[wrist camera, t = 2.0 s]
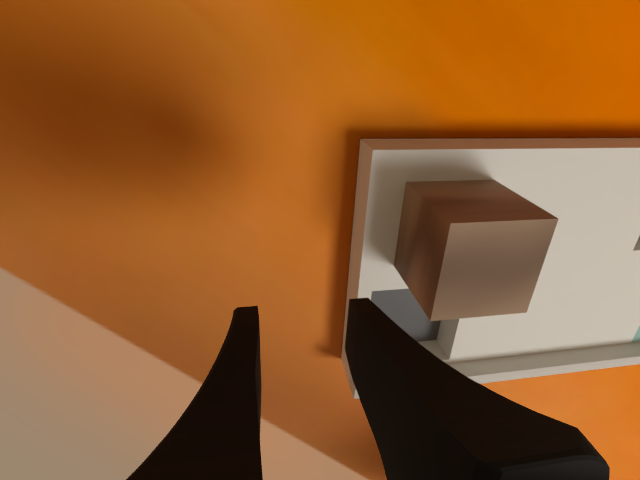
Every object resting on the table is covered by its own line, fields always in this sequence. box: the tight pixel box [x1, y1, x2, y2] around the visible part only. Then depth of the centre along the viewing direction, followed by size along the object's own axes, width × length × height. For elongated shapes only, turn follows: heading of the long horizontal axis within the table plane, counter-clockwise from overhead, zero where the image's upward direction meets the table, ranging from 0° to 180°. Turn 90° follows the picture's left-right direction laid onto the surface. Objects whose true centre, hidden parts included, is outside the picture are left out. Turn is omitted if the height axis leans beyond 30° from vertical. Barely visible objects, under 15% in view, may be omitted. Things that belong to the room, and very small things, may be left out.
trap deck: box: [341, 138, 640, 399], centre depth 24 cm, size 14×26×3 cm, turn 87°
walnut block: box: [394, 180, 558, 321], centre depth 18 cm, size 4×4×4 cm
